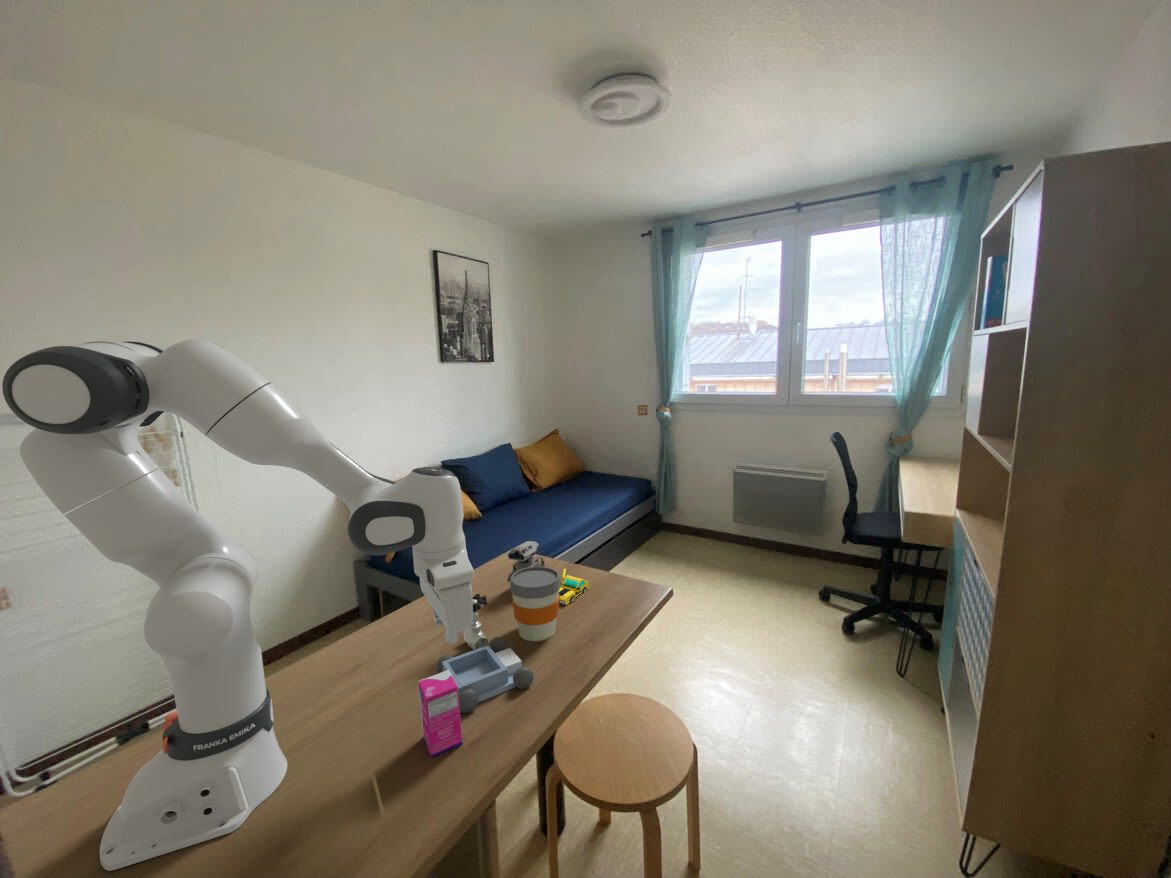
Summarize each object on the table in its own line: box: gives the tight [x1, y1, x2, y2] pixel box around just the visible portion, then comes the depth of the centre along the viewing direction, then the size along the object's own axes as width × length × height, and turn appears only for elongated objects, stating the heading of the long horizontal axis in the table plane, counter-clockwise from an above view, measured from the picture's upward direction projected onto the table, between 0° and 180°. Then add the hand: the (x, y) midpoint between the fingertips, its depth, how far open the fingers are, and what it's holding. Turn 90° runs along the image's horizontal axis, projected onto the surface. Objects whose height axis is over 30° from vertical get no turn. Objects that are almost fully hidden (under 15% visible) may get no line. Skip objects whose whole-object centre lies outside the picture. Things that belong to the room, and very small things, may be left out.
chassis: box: [435, 636, 534, 714], centre depth 100 cm, size 16×15×4 cm
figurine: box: [507, 540, 546, 583], centre depth 139 cm, size 9×12×15 cm
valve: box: [463, 593, 489, 651], centre depth 112 cm, size 7×7×12 cm
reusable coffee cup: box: [509, 566, 561, 642], centre depth 117 cm, size 13×13×15 cm
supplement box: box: [417, 670, 464, 758], centre depth 83 cm, size 6×6×12 cm
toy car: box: [559, 568, 589, 606], centre depth 136 cm, size 12×8×8 cm, turn 147°
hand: (445, 632), depth 83 cm, fingers open, 6 cm apart
